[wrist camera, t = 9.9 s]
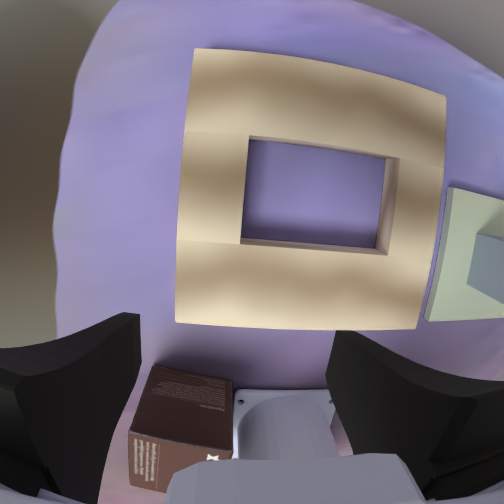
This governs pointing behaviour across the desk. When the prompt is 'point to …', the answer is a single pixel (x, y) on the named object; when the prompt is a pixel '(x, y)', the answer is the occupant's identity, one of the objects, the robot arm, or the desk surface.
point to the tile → (463, 258)
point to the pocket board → (296, 253)
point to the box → (178, 426)
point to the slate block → (488, 266)
